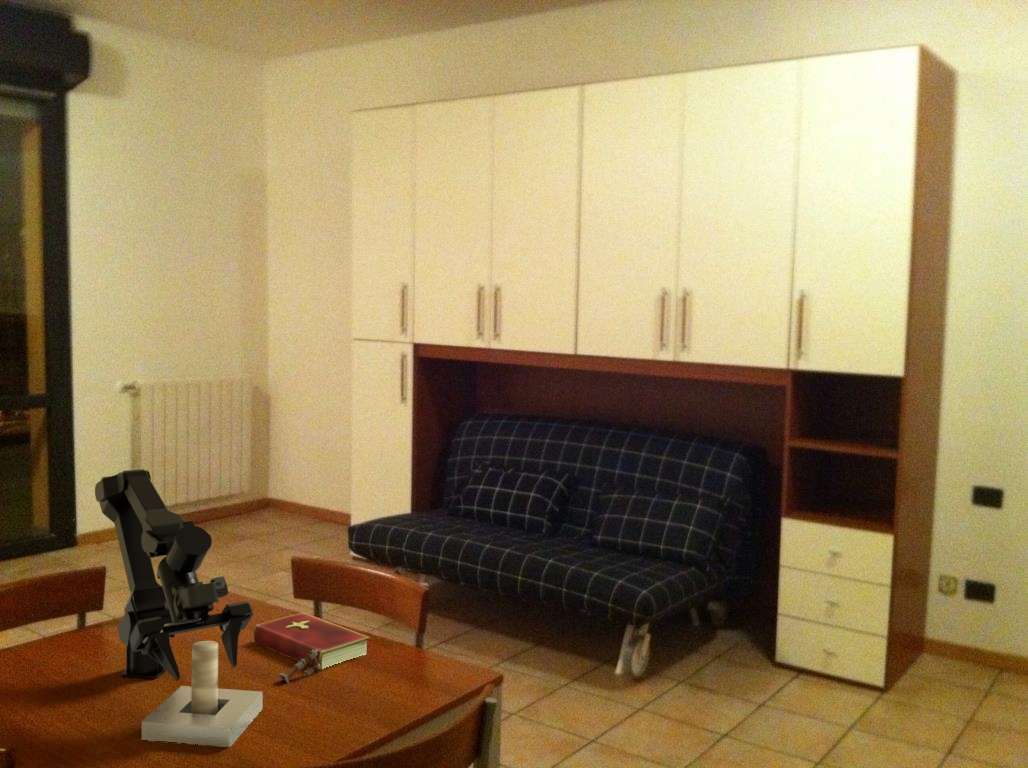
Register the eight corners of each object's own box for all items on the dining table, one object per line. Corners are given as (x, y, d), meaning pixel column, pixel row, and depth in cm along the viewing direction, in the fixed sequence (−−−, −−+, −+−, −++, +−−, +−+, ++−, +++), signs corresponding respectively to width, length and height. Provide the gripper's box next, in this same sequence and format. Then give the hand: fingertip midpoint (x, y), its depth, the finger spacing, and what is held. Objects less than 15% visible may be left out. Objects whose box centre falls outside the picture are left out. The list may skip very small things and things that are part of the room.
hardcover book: (319, 673, 176) (320, 651, 176) (253, 644, 190) (253, 624, 190) (369, 656, 186) (369, 635, 185) (302, 630, 199) (302, 610, 199)
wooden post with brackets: (326, 667, 176) (318, 647, 175) (292, 695, 171) (284, 675, 169) (321, 664, 177) (313, 645, 176) (287, 692, 172) (278, 672, 171)
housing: (141, 740, 146) (141, 721, 146) (181, 703, 160) (181, 685, 160) (229, 747, 145) (230, 728, 145) (262, 709, 159) (262, 691, 159)
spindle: (185, 725, 152) (186, 646, 151) (205, 716, 155) (206, 639, 154) (203, 731, 150) (204, 651, 149) (222, 722, 153) (223, 644, 152)
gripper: (136, 570, 148) (160, 661, 141) (249, 553, 160) (278, 637, 152) (119, 606, 155) (142, 695, 147) (230, 588, 167) (256, 669, 159)
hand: (207, 673), depth 151 cm, fingers open, 9 cm apart
